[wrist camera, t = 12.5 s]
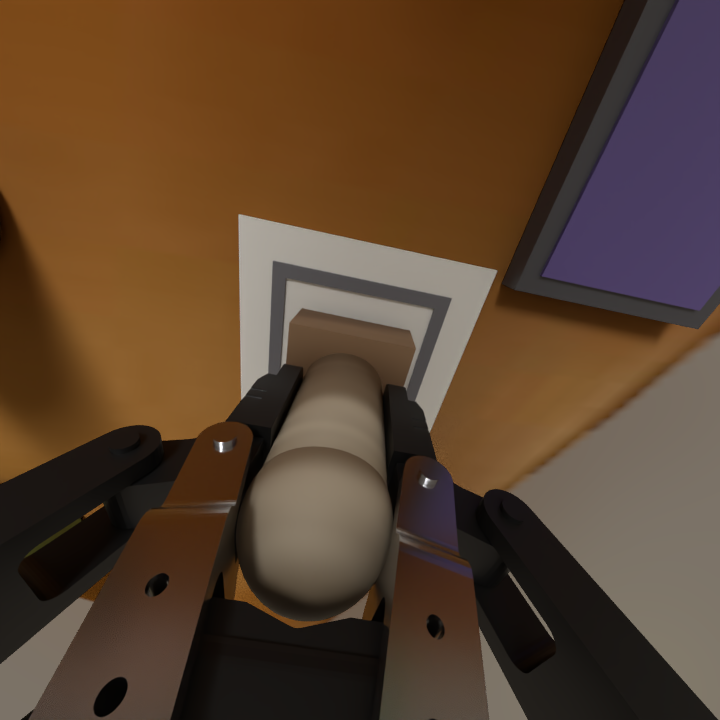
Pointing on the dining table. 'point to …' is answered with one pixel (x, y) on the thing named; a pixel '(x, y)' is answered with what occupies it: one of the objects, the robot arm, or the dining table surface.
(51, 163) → the dining table surface
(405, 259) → the print sheet
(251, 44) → the dining table surface
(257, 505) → the stamp
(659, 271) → the ink pad
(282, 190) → the dining table surface
